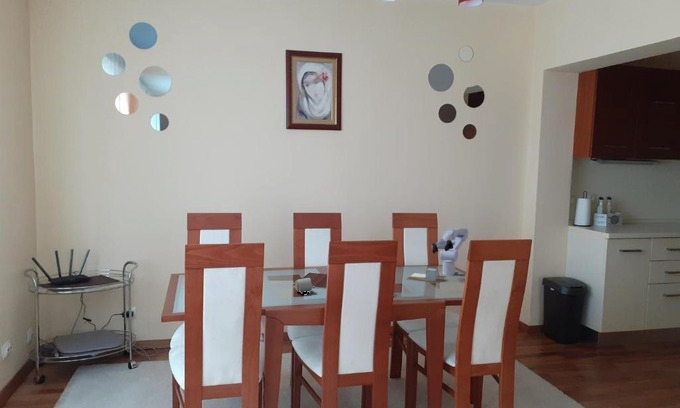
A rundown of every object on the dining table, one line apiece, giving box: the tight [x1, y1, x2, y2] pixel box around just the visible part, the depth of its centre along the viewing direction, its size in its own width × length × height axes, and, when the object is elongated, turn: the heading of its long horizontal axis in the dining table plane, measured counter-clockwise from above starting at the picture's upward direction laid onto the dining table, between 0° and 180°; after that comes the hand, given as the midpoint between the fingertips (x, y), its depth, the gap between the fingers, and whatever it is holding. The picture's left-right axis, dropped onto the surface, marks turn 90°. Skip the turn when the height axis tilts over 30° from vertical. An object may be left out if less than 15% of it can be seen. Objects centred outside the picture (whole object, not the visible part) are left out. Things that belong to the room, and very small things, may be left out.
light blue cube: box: [425, 267, 439, 281], centre depth 279 cm, size 6×6×6 cm
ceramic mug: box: [294, 277, 313, 293], centre depth 253 cm, size 11×8×8 cm
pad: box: [409, 272, 426, 278], centre depth 288 cm, size 9×9×1 cm
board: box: [405, 275, 447, 284], centre depth 283 cm, size 18×20×1 cm
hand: (439, 250), depth 274 cm, fingers open, 7 cm apart
